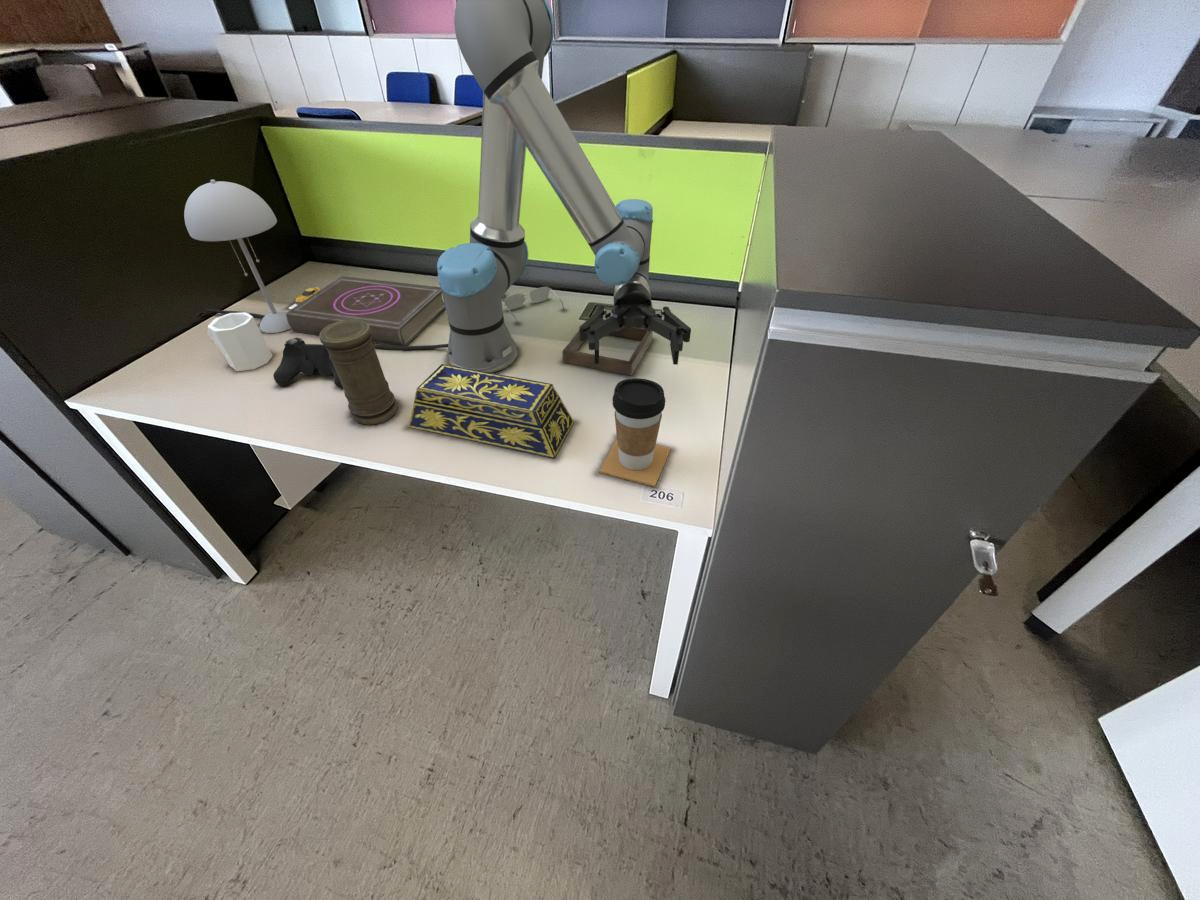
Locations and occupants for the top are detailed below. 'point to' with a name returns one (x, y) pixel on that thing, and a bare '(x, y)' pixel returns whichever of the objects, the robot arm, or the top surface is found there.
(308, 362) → the game controller
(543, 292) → the eyeglasses
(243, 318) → the mug
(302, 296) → the toy car
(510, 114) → the robot arm
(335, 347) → the container
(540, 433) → the decorative box
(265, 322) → the lamp
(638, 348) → the wooden square frame
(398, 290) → the book
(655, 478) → the coaster
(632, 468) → the coffee cup
